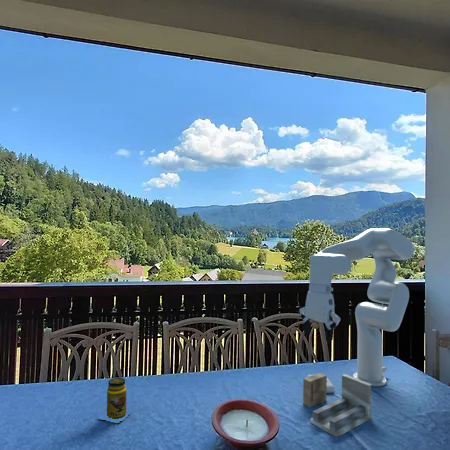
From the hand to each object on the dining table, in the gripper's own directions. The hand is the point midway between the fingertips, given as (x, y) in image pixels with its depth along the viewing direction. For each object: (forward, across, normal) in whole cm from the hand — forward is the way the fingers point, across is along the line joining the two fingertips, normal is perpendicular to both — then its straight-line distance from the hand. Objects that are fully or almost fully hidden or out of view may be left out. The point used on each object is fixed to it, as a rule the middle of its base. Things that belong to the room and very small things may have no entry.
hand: (317, 336), depth 131 cm
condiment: (+26, +32, +61) cm, 74 cm away
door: (+23, 0, 0) cm, 23 cm away
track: (+23, -13, +3) cm, 27 cm away
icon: (+23, +8, -11) cm, 27 cm away
